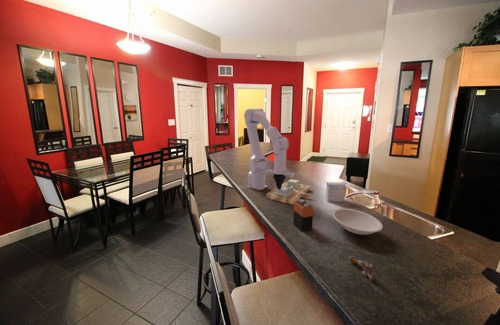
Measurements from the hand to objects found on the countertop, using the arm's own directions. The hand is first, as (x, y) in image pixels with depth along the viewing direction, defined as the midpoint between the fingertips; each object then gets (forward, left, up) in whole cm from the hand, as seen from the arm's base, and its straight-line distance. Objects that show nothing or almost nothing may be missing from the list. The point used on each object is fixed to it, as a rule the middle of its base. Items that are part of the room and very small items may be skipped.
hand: (279, 188), depth 112 cm
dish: (+38, -16, -4) cm, 41 cm away
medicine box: (+25, +10, -4) cm, 27 cm away
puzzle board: (+5, +6, -4) cm, 9 cm away
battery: (+21, -23, -4) cm, 31 cm away
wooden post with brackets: (+43, -37, -4) cm, 57 cm away
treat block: (+3, +11, -4) cm, 12 cm away
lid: (+3, 0, -1) cm, 3 cm away
